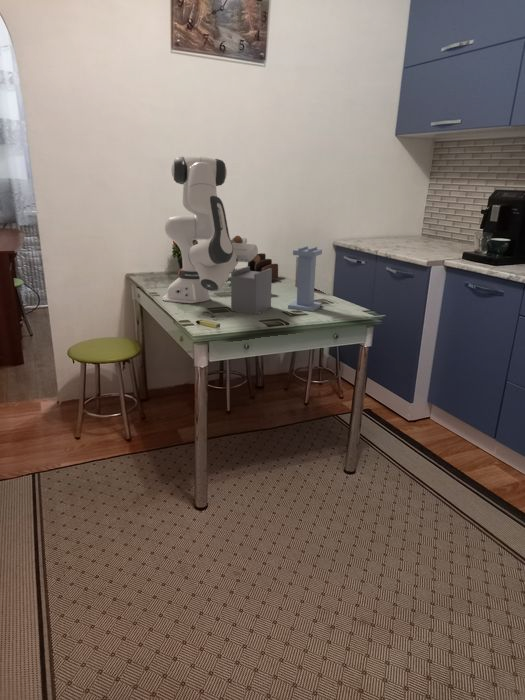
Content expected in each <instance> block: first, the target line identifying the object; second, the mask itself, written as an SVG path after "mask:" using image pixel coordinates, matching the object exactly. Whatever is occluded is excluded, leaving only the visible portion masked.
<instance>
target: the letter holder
mask: <svg viewBox="0 0 525 700" xmlns="http://www.w3.org/2000/svg"><path fill="white" fill-rule="evenodd" d="M257 255H258V256H259V257H260V261H259V262H255V261H254V260H253V259H252V260H251V261H250V262H247V266H250V271H256V272H261V271H264V270H267V269H270V268H271V269H272V279H276V278H278V277H279V264H278V263H273V261H272V260H273V259H272V258H266V256H267V255H266V253H258V254H257Z"/></svg>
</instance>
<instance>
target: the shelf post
mask: <svg viewBox="0 0 525 700" xmlns="http://www.w3.org/2000/svg"><path fill="white" fill-rule="evenodd" d="M322 254H323V249H321V248H320V249H319V248H318V246H314V247H310V248H309V246H308V245H306V246H302V247H299V248H296V249H292V255H293V256H298V257H299V262H298V285H297V287H296V288H297V291H296V300H294V301H293V302H291V303H290V304H288V305H287V309H289V308H291V310H297V309H299V310H298V311H304V310H306V312H312V311H313V312H315V311H317V310H318V309H319V308H320V306H321V307H322V305H323V303H322V302H318V301H315V300H314V299H315V284H316V283H315V282H316V281H315V280H316V268H317V267H316V264H317V263H316V262H317V256H321V255H322ZM317 308H318V309H317Z"/></svg>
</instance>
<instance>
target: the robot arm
mask: <svg viewBox="0 0 525 700" xmlns="http://www.w3.org/2000/svg"><path fill="white" fill-rule="evenodd" d="M171 164H172V165H171V171H170V172H171V177H173V181H175V183H176V184H179V185H183V188H182V205H183V207H184V208H185V209H186V211H187V212H189V213H191V215H190V214H189V215H187V214H186V215H180V214H179V215H174V216H170V217H168V218H167V219H166V222H165V224H164V231H165V233H166V235H167V237H168V238H170V239H171V240H172V241H173V242H174V243H175V244H176V245H177V247H178V248H179V250H180V255H181V262H182V268H180V269H179V271H178V274H177V275H178V278H176V279H175V280H173V282H172V283H170V284H169V285H168V288H167V291H166V294H165V295H163V296H162V301H163V300H164V301H163V302H171V303H183V304H185V303H186V304H195V303H202V302H207V301H209V300H211V296H210V294H209V291H210V292H215V291H218V290H220V289H221V288H222V287H223V286H224V284H226V283H227V282H228V281H227V280H228V277H230V274H231V273H232V271H233V270H234V268H235V269H236V267H237V265H238V263H248V262H250V261H251V260H252V259H253V258H254V257H255V256H256V255H257V254H259V249H258V246H257V244H254V243H253V244H252V243H247V242H248V238H246V237H245V238H244V237H243V238H242V243H235V242H234V238H235V237H232V239H231V237H230V233H229V227H228V220H227V215H226V210H225V205H224V203H223V201H222V199H221V198H220V197H219V196H218V194H217V193H218V192H217V187H220V186H223V184H224V183H225V181H226V179H227V175H228V174H227V173H228V172H227V167H226V163H225V162H224V161H223V160H222V159H219V158H215V159H214V158H210V157H206V156H205V157H204V156H199V157H197V156H186V157H185V156H178V157H175V158H174V160H173V162H172V163H171ZM197 240H199V241H201V240H203V241H201V242H199V243H197V244H194V243H193V241H197ZM246 243H247V244H246ZM226 281H227V282H226Z"/></svg>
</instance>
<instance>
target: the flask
mask: <svg viewBox="0 0 525 700" xmlns="http://www.w3.org/2000/svg"><path fill="white" fill-rule="evenodd" d="M298 262H299V256H296V259H295V285H294V286H295V287H296V288H297V285H298Z"/></svg>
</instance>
